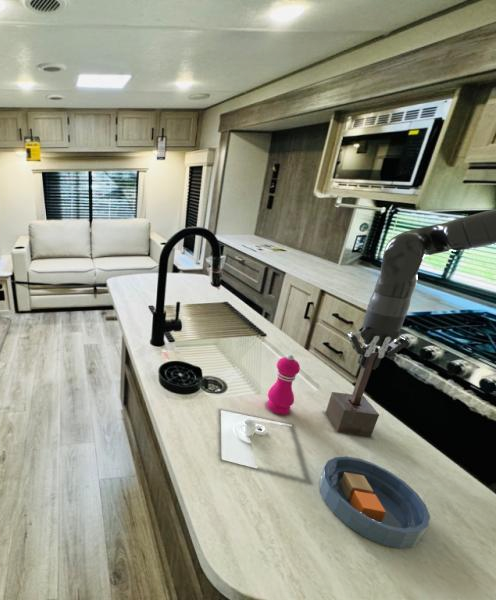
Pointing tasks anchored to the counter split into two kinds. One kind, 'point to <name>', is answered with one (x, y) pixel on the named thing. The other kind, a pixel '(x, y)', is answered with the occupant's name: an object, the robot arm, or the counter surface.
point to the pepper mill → (283, 386)
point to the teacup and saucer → (240, 437)
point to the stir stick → (362, 380)
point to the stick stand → (351, 415)
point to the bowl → (392, 495)
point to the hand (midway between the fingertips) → (367, 367)
